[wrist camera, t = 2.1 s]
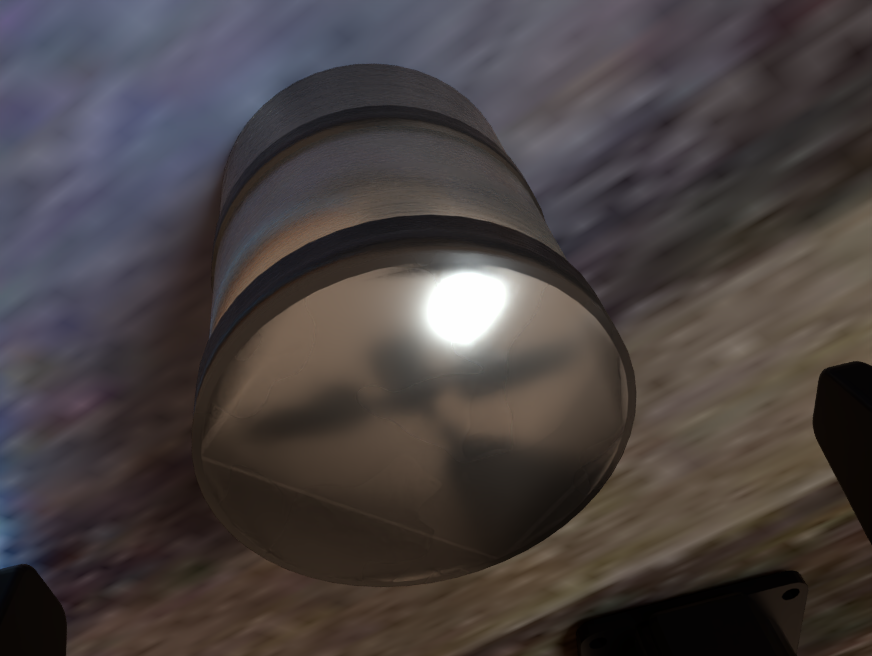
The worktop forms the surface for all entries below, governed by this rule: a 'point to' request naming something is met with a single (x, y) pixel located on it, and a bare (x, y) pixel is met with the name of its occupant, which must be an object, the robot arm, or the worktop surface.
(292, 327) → the lens
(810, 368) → the worktop surface
